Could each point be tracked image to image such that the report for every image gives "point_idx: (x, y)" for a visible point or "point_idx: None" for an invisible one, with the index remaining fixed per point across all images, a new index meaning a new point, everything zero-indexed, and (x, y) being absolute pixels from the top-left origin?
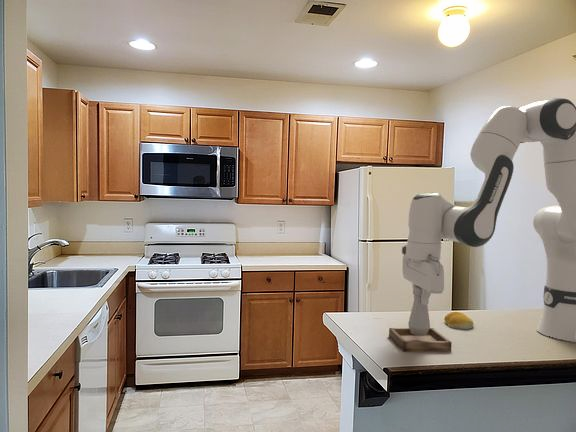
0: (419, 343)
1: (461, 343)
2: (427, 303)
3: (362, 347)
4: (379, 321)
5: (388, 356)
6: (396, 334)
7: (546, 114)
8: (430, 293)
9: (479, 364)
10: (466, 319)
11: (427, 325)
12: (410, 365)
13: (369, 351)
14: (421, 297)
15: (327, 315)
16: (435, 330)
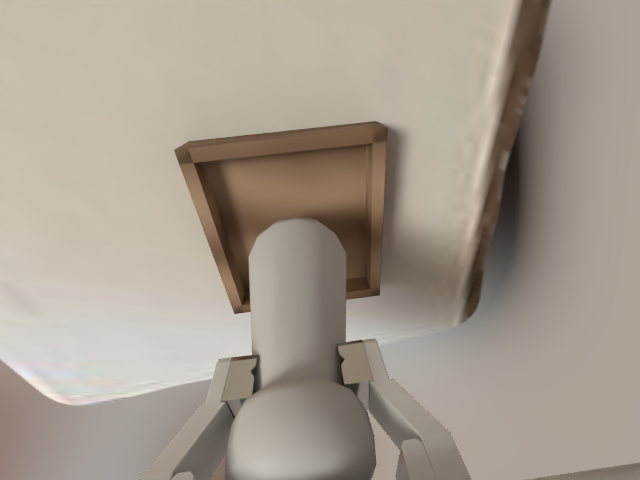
0: (380, 252)
1: (268, 11)
2: (376, 345)
3: None
4: (66, 299)
5: (402, 312)
6: None
7: None
8: (444, 430)
9: (524, 50)
10: None
11: (337, 244)
12: (465, 278)
13: None
14: (374, 412)
15: (89, 405)
16: (215, 147)
